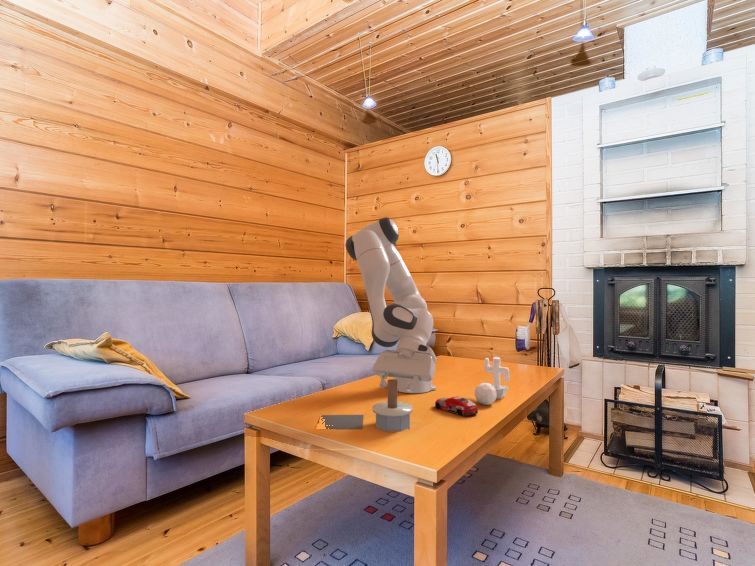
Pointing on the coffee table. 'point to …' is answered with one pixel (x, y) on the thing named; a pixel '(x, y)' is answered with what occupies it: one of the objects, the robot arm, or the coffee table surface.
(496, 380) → the figurine
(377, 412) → the lid
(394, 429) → the bowl
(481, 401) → the geometric ball
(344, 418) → the mat
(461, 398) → the race car
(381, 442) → the coffee table surface
